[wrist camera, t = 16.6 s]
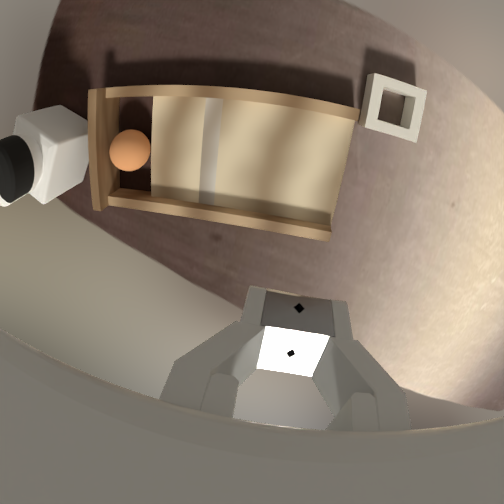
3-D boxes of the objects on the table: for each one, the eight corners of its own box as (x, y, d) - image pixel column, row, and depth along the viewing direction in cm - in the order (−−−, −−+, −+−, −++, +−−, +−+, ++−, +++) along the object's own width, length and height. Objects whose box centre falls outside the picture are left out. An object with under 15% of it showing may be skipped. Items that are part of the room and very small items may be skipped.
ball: (142, 133, 22) (102, 133, 22) (141, 177, 24) (102, 175, 24) (156, 127, 25) (120, 126, 25) (155, 165, 27) (119, 163, 27)
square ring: (415, 90, 20) (426, 90, 18) (406, 138, 22) (416, 142, 20) (367, 74, 20) (374, 72, 18) (358, 124, 22) (364, 127, 20)
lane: (354, 108, 22) (364, 110, 18) (327, 229, 28) (330, 250, 25) (112, 87, 23) (88, 89, 20) (113, 195, 29) (93, 209, 26)
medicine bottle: (61, 103, 24) (-22, 127, 14) (102, 128, 26) (17, 160, 15) (46, 155, 28) (-27, 192, 18) (83, 182, 29) (10, 229, 19)
